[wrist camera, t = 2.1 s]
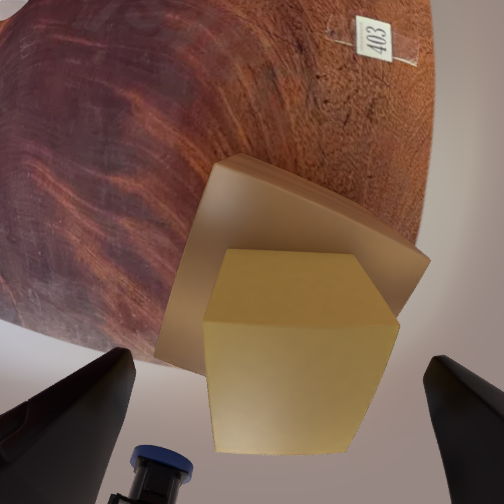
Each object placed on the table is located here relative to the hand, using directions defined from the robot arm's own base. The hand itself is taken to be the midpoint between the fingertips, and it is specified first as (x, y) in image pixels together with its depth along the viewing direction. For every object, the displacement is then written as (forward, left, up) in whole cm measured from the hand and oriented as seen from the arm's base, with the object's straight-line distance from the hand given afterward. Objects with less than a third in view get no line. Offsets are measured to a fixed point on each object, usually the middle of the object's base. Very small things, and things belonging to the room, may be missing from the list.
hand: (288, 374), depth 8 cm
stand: (0, 0, -12) cm, 12 cm away
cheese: (0, 0, -3) cm, 3 cm away
